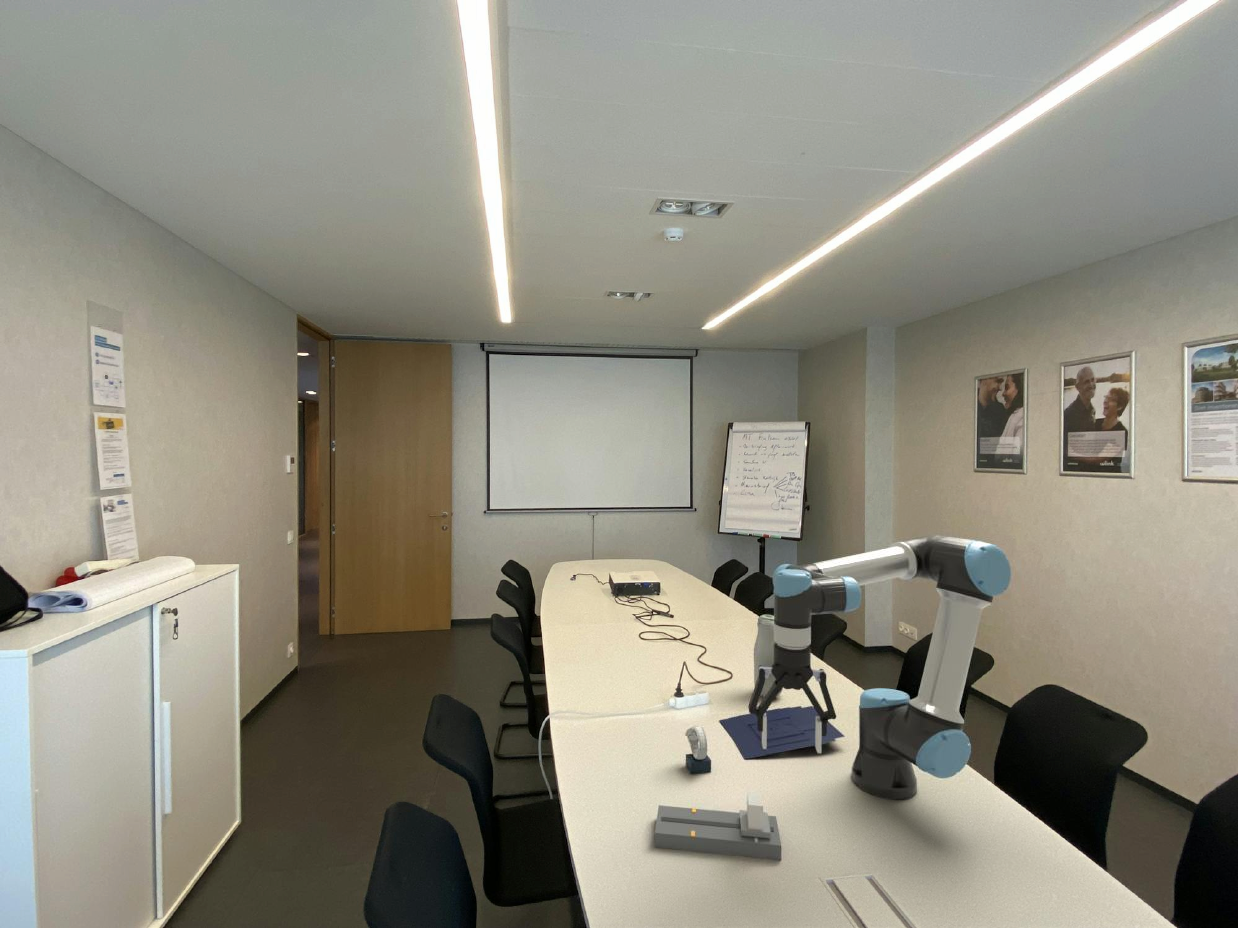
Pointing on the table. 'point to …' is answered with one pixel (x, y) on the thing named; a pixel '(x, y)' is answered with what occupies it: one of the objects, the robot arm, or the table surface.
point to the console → (712, 833)
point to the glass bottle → (765, 650)
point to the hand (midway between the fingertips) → (791, 747)
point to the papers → (778, 731)
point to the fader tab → (754, 817)
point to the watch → (697, 751)
